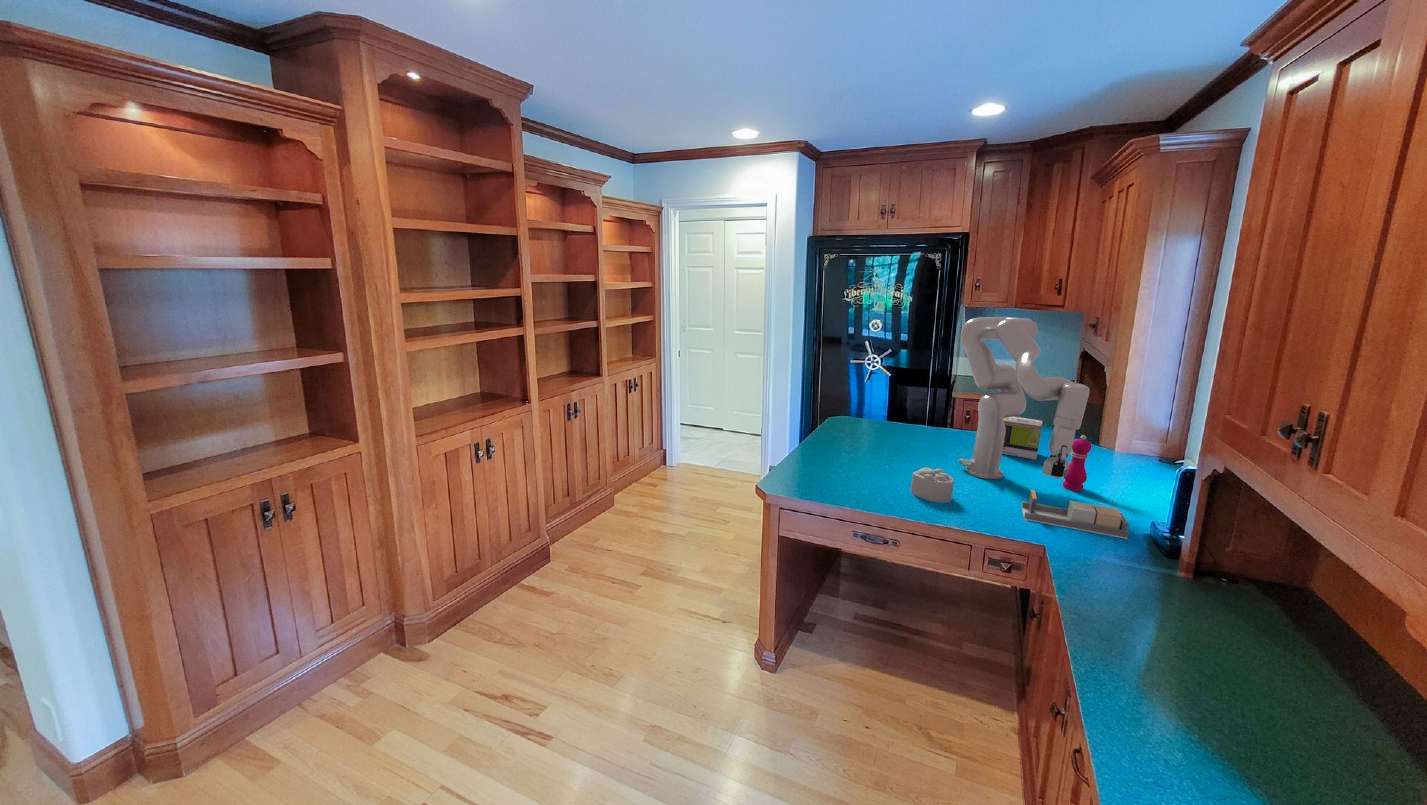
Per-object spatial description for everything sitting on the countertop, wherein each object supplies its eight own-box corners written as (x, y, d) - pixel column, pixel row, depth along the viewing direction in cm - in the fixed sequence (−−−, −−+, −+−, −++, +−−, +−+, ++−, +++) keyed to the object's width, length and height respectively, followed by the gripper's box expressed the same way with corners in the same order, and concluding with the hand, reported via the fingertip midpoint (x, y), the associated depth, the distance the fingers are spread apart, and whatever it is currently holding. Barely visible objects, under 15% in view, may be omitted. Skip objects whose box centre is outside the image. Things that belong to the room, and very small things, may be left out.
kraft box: (1094, 529, 169) (1098, 512, 168) (1090, 520, 174) (1094, 504, 173) (1117, 533, 167) (1122, 516, 165) (1113, 524, 172) (1117, 508, 171)
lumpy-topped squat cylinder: (921, 485, 201) (924, 462, 198) (957, 497, 191) (961, 473, 189) (907, 493, 194) (910, 469, 191) (943, 506, 185) (946, 481, 182)
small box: (1059, 479, 182) (1062, 465, 180) (1040, 473, 186) (1044, 459, 184) (1066, 475, 185) (1070, 462, 183) (1048, 469, 189) (1052, 455, 188)
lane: (1023, 522, 174) (1026, 507, 173) (1021, 508, 184) (1023, 494, 183) (1127, 541, 164) (1131, 526, 163) (1118, 525, 174) (1122, 511, 172)
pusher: (1029, 516, 175) (1033, 497, 174) (1027, 508, 181) (1031, 489, 180) (1033, 517, 175) (1036, 498, 173) (1030, 508, 181) (1034, 490, 179)
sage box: (1069, 524, 172) (1073, 508, 170) (1066, 516, 177) (1069, 500, 175) (1092, 528, 169) (1096, 512, 168) (1088, 520, 175) (1092, 504, 173)
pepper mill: (1087, 492, 197) (1099, 439, 192) (1065, 490, 199) (1076, 437, 193) (1079, 484, 204) (1090, 433, 199) (1057, 482, 205) (1068, 431, 200)
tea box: (1037, 453, 235) (1043, 420, 231) (1035, 460, 227) (1042, 426, 223) (998, 446, 243) (1003, 413, 239) (995, 453, 235) (1000, 419, 231)
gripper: (1050, 411, 188) (1039, 459, 194) (1057, 427, 173) (1044, 479, 179) (1076, 415, 186) (1063, 463, 191) (1085, 432, 170) (1071, 484, 176)
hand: (1054, 470), depth 185 cm, fingers closed on small box, 7 cm apart
